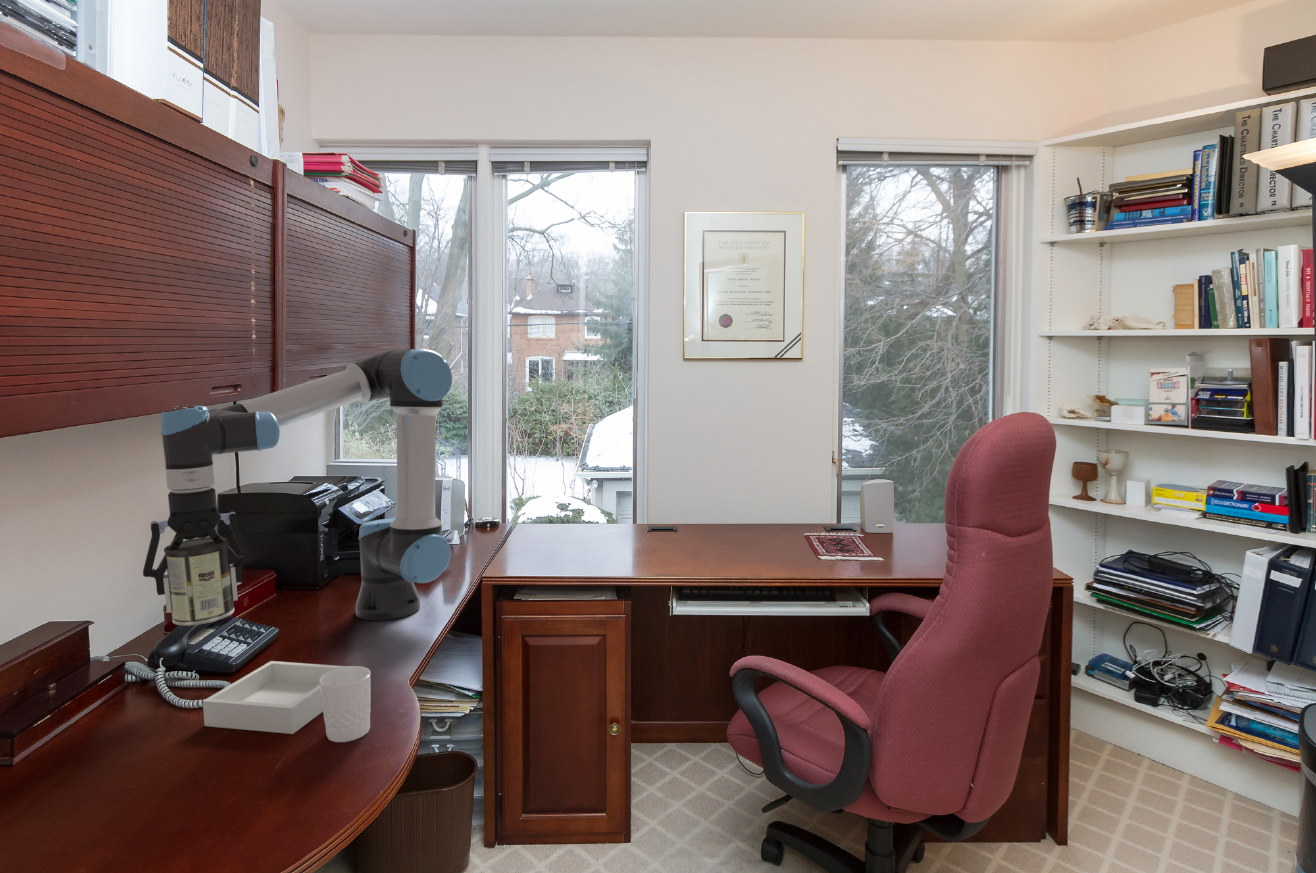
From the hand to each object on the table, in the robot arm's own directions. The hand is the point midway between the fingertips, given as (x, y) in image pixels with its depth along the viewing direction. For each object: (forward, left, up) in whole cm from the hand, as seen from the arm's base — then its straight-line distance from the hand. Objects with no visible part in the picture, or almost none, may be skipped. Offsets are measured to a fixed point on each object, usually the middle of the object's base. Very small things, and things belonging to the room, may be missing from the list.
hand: (202, 604), depth 141 cm
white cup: (+32, +21, -17) cm, 42 cm away
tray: (+16, +12, -17) cm, 26 cm away
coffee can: (0, 0, -3) cm, 3 cm away
